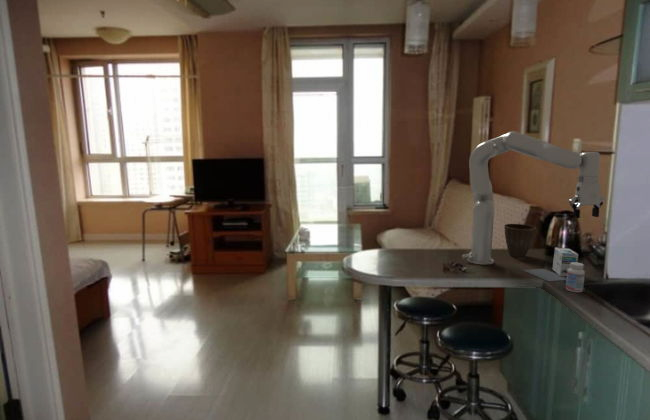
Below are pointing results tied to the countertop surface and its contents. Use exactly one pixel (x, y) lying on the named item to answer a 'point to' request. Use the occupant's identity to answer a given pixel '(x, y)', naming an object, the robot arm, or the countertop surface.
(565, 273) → the light bulb box
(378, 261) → the countertop surface
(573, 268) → the pill bottle
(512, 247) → the plant pot
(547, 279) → the mat
